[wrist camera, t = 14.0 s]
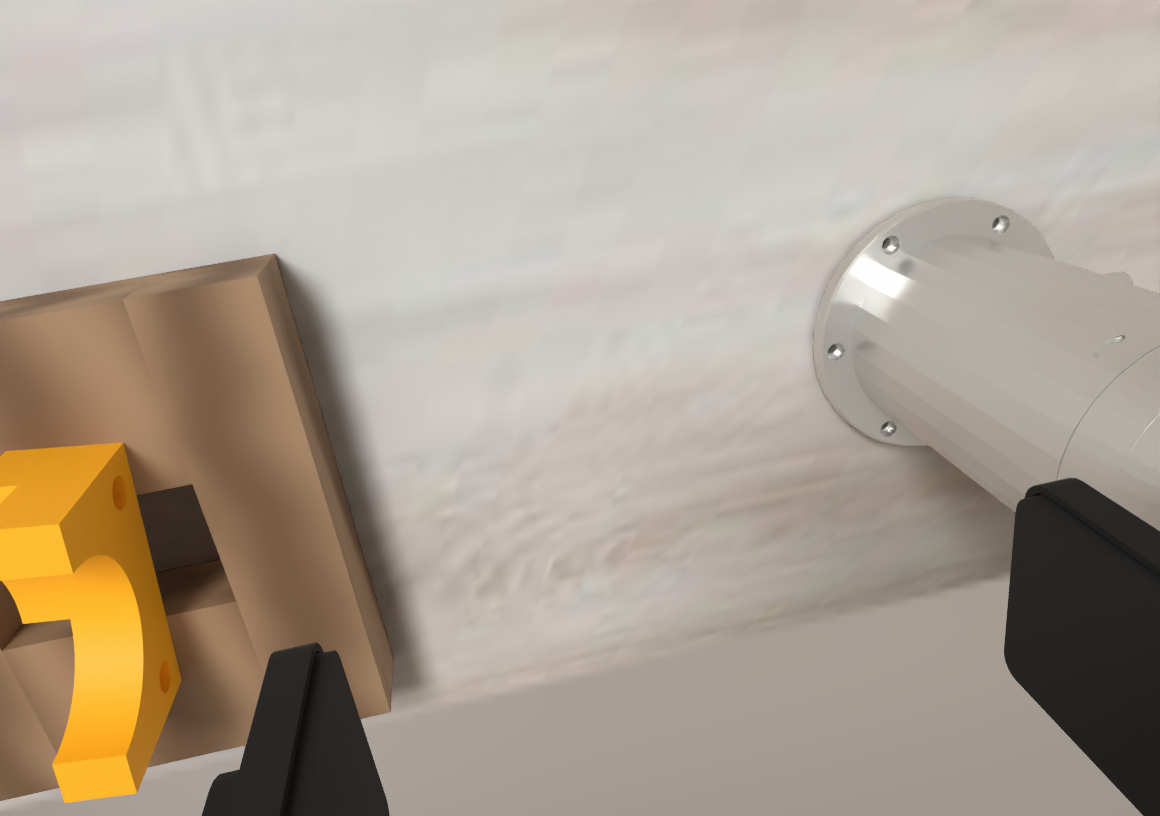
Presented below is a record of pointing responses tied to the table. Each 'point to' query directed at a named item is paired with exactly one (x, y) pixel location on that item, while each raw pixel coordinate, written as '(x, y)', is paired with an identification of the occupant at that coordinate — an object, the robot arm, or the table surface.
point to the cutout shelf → (222, 485)
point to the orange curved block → (91, 606)
